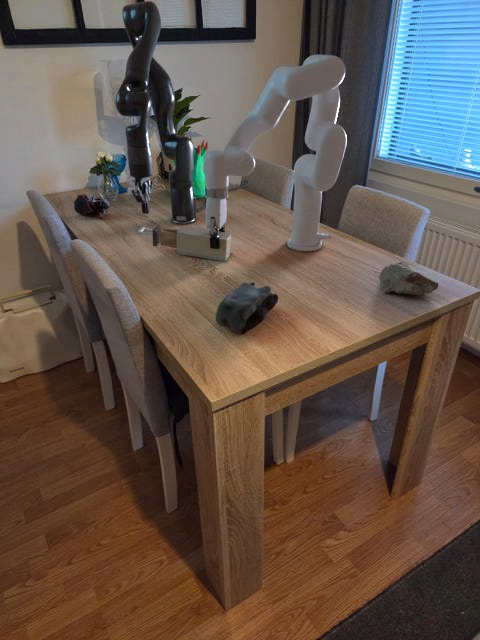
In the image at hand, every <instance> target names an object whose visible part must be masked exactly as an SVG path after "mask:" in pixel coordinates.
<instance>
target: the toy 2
mask: <svg viewBox="0 0 480 640" xmlns="http://www.w3.org/2000/svg"><path fill="white" fill-rule="evenodd" d="M189 139H190V140H191V141H192V143H193V148H194V170H193V174H192V181H193V196H194V197H195V200H196V199H202V198H206V197H205V174H204V155H205V153H206V152H208V147H209V141H206V143H205V141H204V139H202V142H201V143H200V144H198V145H197V147H196V149H195V146H194V142H193V141H194V140H193V138H192V137H189ZM172 163H173V165H174V169H175V168H176V161H175V160H172ZM168 192H169V194H170V188H169V189H168Z"/></svg>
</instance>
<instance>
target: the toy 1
mask: <svg viewBox="0 0 480 640" xmlns="http://www.w3.org/2000/svg"><path fill="white" fill-rule="evenodd" d="M95 197H96V195H95V194H90V196H87V195H86V194H78V195H77V197H76V198H75V199H74V201H73V209H74V211H75V212H76V213H77V214H78V215H80V216H82V217H88V218H93V219H99V220H100V219H101V220H102V219H103V218H102V216H101V214H102V215H103V216H107V215H108V214H109V210H108V209H109V207H110V205H111V203H110V202H109V201H108V200H107V199H106V198H100V197H98V198H95Z"/></svg>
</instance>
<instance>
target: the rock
mask: <svg viewBox="0 0 480 640" xmlns="http://www.w3.org/2000/svg"><path fill="white" fill-rule="evenodd" d="M255 285H256V283H255V282H254V281H253V282H252V281H251V282H243V283H241V284H240V285H239V286H236V287H235V288H234V289H233V290H231V292H229V293H227V294H226V296H224V297H223V298H222V300H221V301H220V303H219V304H218V305H217V309H216V313H215V322H216V323H217V325H218V326H220V327H227V326H228V328H229V329H230V330H232V332H235V333H237V334H238V333H239V334H240V335H245V333H247V332H249V331H251V330H252V329H254V328H255V327H257V326H258V325H259V324H261V323H262V322H263V321H264V320H265V319H266V318H267V317H266V316H267V315H268V313H269V312H270V311H272V310H273V309H274V308H275V306H276V305H277V303H278V302H279V295H278V294H277V293H273V292H272V288H271V286H269V285H264V286H261V287H255Z"/></svg>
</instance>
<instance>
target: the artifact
mask: <svg viewBox="0 0 480 640" xmlns="http://www.w3.org/2000/svg"><path fill="white" fill-rule="evenodd" d="M378 279H379V281H380V282H379V286H380V290H382V292H383V293H384V294H388V293H390V292H395V294H407V295H412V296H422V295H424V294H431V293H432V292H434V291H435V290H438V287H439V282H436V281H434V280H432V279H430V278H429V277H427V276H424V275H422V274H421V273H420V272H417V271H415V270H414V269H412V268H411V267H410V266H409V265H407V264H406V263H405V262H404V261H399V262H397V263H395V264H392V263H390V264H389V265H386V266H385V267H384V268H382V270H381V272H380V274H379V276H378Z"/></svg>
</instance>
